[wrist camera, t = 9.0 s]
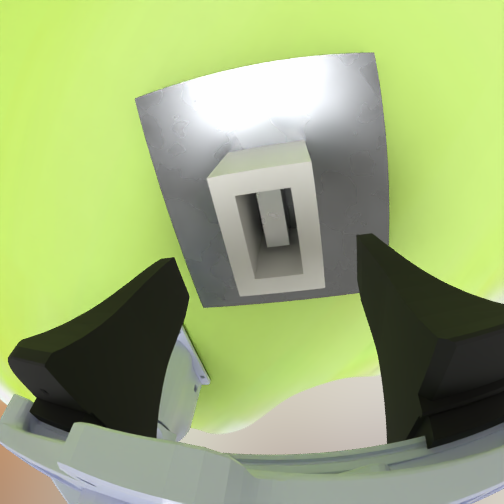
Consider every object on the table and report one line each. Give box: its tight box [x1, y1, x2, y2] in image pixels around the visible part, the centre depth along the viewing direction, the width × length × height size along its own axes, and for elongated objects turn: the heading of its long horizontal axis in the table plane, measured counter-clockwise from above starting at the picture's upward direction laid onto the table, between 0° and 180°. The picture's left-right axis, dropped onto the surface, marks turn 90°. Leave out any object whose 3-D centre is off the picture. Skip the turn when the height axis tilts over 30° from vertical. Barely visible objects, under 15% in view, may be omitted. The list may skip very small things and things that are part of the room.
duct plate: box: [135, 53, 389, 308], centre depth 17 cm, size 16×14×4 cm
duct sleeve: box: [207, 140, 325, 296], centre depth 16 cm, size 6×4×5 cm
